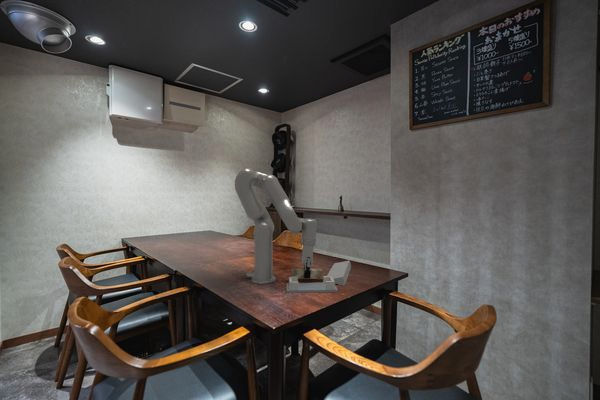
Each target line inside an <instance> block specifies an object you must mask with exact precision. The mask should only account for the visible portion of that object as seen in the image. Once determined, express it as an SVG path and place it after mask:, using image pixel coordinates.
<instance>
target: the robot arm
mask: <svg viewBox="0 0 600 400" xmlns="http://www.w3.org/2000/svg"><path fill="white" fill-rule="evenodd" d="M253 187H256V188H259V189H262V190H264V191H265V194H267V197H268V198H269V200H270V201H271V203H272V205H273V206H274V208H275V210H276V211H277V213H278V215H279V217H280V219H281V220H282V222H283V224H284V225H285V227H286V228H287V231H289V232H290V233H291V234H299V233H300V232H301V244H300V245H301V246H302V252H301V263H302V265H303V269H305V270H304V278H310V272H311V270H310V269H311V266H312V265H313V261H314V258H313V257H314V247H316V245H317V244H316V243H317V223H318V222H317V220H316V219H315V218H303V217H298V215H297V214H296V212H295V210H294V208H293V206H292V204H291V200H290V198H289V197H288V195H287V194H286V191H285V190H284V188H283V187H282V185H281V183H280V181H279V179H278V177H276V176H275V175H273V174H267V173H264V172H260V171H256V170H254V169H252V168H249V167H248V168H247V167H246V168H243V169H241V170H240V171H239V172H238V173H237V175H236V177H235V179H234V189H235V192H236V194H237V197H238V199H239V201H240V203H241V206H242V208H243V209H244V212H245V214H246V216H247V217H248V218H249V219H250V220H252V221H253V223H254V225H255V226H254V228H253V241H254V246H253V248H254V250H253V251H254V271H252V272H249V271H247V272H245V276H246V277H247V278H251V279H250V280H251V282H252V283H254V284H257V285H259V284H260V285H266V284H271V283H274V282H275V281H276V276H274V275H273V271H274V270H273V269H274V268H273V266H274V265H273V260H274V259H273V258H274V257H273V254H274V253H273V252H274V251H273V250H274V249H273V247H274V246H273V241H274V240H273V239H274V238H273V234H274V231H275V224H274V222H273V220H272V218H271V215H270V214H269V212H268V209H267V208H266V206H265V204H264V203H262V202H260V201H259V199H258V197H257V195H256V192H255V191H254V189H253Z"/></svg>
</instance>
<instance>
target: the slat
mask: <svg viewBox="0 0 600 400" xmlns="http://www.w3.org/2000/svg"><path fill="white" fill-rule="evenodd" d="M304 270H305V269H304V268H291V277H298V280H299V279H301V280H302V279H320V280H321V279H322V280H323V269H322V268H310V270H311V272H310V278H304Z"/></svg>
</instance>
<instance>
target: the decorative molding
mask: <svg viewBox="0 0 600 400" xmlns="http://www.w3.org/2000/svg"><path fill="white" fill-rule="evenodd" d="M351 269H352V263H351V261H350V259H349V260H345V261H340V262H335V263H333V265H332V267H331V268H330V270H329V271H328V274H327V275H326V276H332V278H333V280H334V281H335V285H338V286H346V284H347V281H348V278H349V276H350V272H351Z"/></svg>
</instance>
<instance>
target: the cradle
mask: <svg viewBox="0 0 600 400" xmlns="http://www.w3.org/2000/svg"><path fill="white" fill-rule="evenodd" d="M285 288H286V293H288V294H289V293H294V294H295V293H297V294H298V293H301V294H302V293H338V292H339V290H338V287H337V286H336V284H335V281H334V280H333V278H332V276H327V275H326V276H325V275H324V276H323V277H322V282H299V279H298V277H292V276H289V277H288V283H287V282H286V286H285Z"/></svg>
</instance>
